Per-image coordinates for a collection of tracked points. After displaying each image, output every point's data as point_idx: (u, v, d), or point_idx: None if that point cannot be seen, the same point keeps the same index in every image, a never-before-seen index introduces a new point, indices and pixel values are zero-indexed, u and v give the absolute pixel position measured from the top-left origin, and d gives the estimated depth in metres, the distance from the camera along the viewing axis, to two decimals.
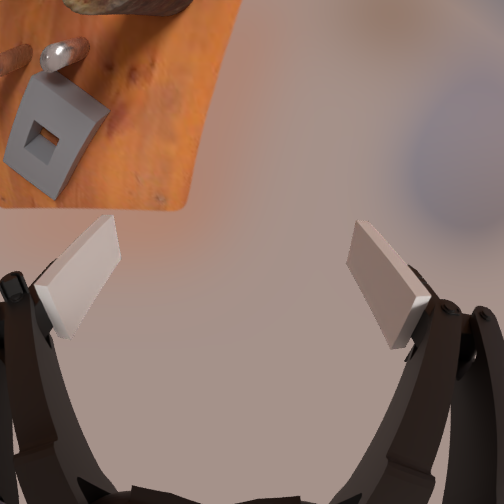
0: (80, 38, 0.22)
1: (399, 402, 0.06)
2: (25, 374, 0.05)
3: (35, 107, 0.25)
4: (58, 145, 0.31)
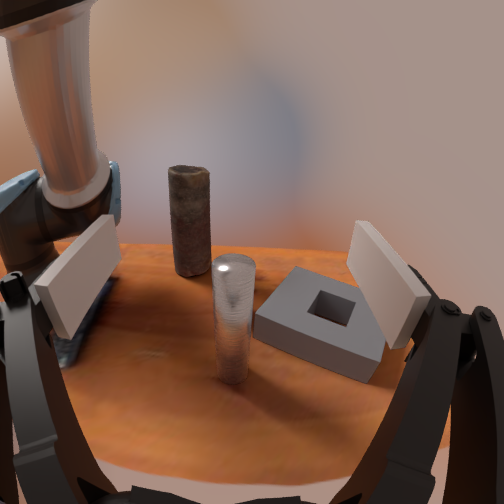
0: None
1: (399, 402, 0.06)
2: (25, 374, 0.05)
3: (291, 309, 0.38)
4: (327, 291, 0.42)
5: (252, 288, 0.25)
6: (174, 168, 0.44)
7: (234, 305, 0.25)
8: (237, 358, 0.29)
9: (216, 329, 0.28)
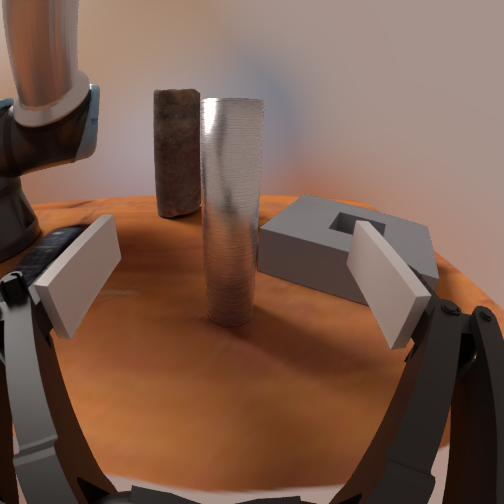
0: None
1: (399, 402, 0.06)
2: (25, 374, 0.05)
3: (308, 225, 0.28)
4: (348, 213, 0.32)
5: (260, 130, 0.16)
6: None
7: (233, 149, 0.15)
8: (238, 268, 0.20)
9: (205, 212, 0.18)
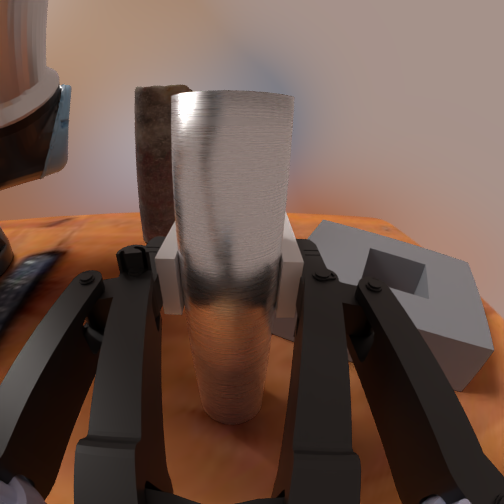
0: None
1: (293, 384, 0.07)
2: (124, 358, 0.06)
3: None
4: (381, 249, 0.25)
5: (287, 156, 0.08)
6: None
7: (235, 199, 0.08)
8: (244, 374, 0.12)
9: (187, 299, 0.11)
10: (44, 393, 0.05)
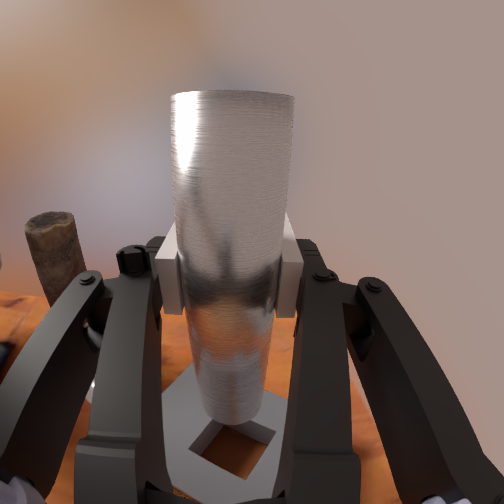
0: None
1: (293, 384, 0.07)
2: (124, 358, 0.06)
3: (166, 442, 0.20)
4: None
5: (288, 156, 0.08)
6: (35, 219, 0.26)
7: (234, 200, 0.08)
8: (244, 375, 0.12)
9: (186, 300, 0.11)
10: (44, 393, 0.05)
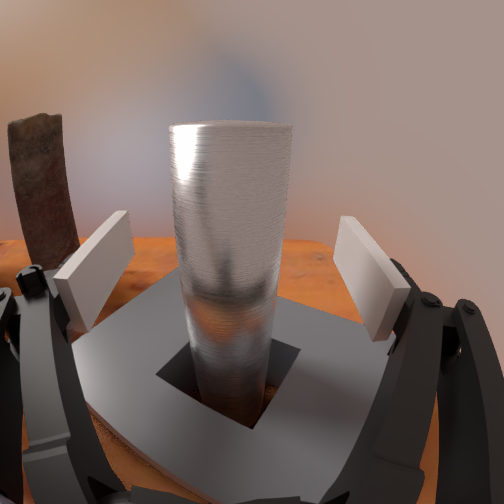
0: None
1: (383, 397, 0.06)
2: (40, 369, 0.05)
3: (123, 363, 0.13)
4: None
5: (285, 187, 0.09)
6: None
7: (234, 233, 0.08)
8: (244, 387, 0.12)
9: (189, 320, 0.11)
10: None
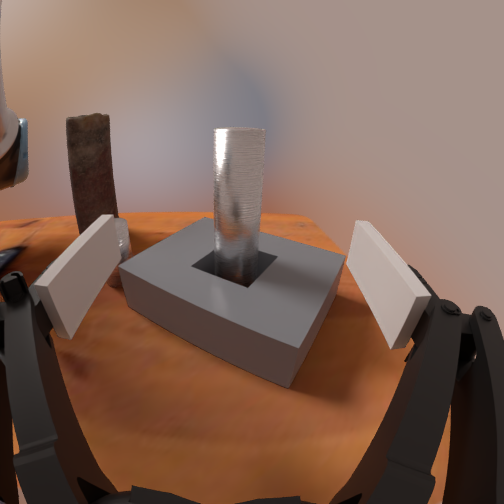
0: None
1: (399, 402, 0.06)
2: (25, 374, 0.05)
3: (169, 262, 0.25)
4: None
5: (262, 155, 0.20)
6: None
7: (241, 171, 0.20)
8: (243, 267, 0.24)
9: (216, 220, 0.23)
10: None
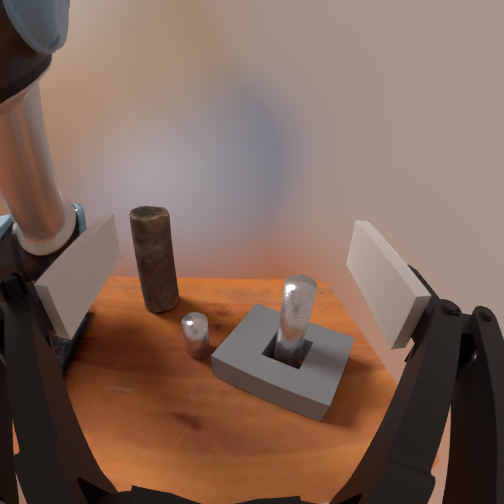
0: None
1: (399, 402, 0.06)
2: (25, 374, 0.05)
3: (246, 351, 0.38)
4: None
5: (313, 300, 0.34)
6: (135, 211, 0.45)
7: (301, 313, 0.33)
8: (295, 355, 0.37)
9: (282, 333, 0.36)
10: None
